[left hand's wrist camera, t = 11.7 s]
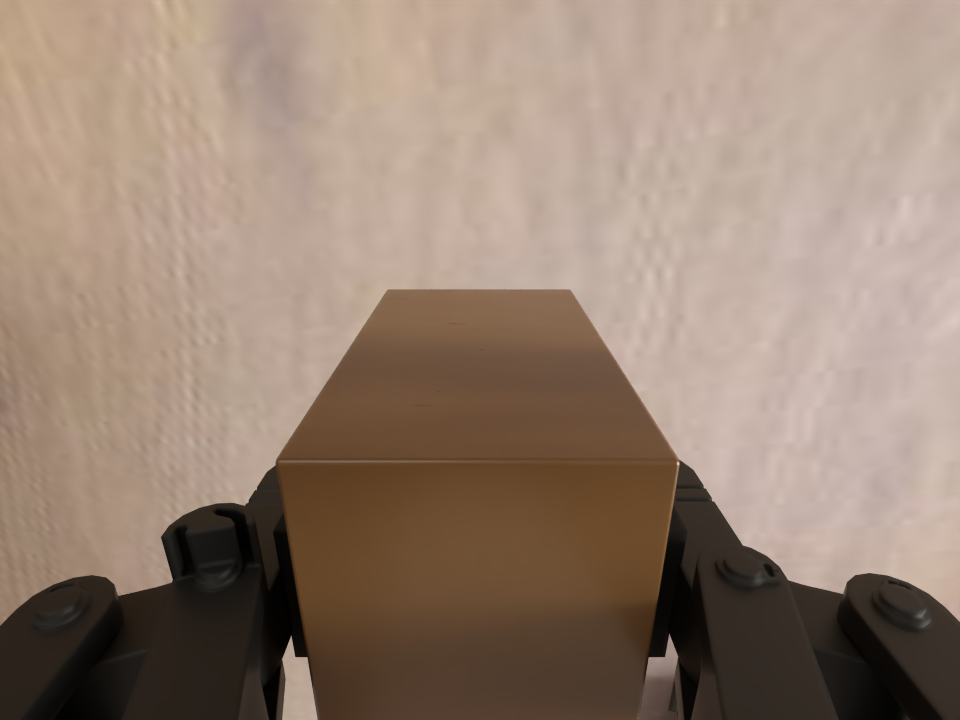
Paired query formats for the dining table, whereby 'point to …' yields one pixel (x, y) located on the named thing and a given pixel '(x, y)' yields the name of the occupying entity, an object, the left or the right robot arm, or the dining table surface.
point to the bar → (478, 516)
